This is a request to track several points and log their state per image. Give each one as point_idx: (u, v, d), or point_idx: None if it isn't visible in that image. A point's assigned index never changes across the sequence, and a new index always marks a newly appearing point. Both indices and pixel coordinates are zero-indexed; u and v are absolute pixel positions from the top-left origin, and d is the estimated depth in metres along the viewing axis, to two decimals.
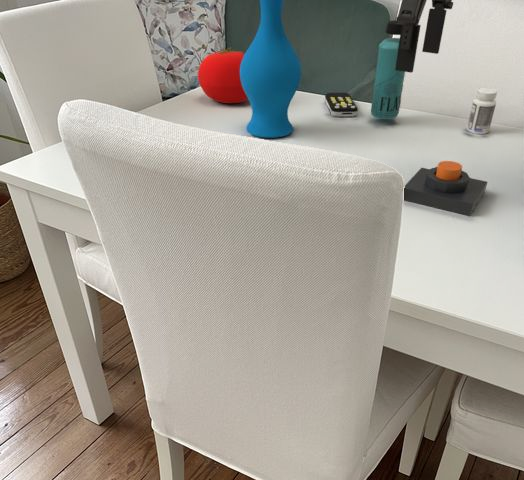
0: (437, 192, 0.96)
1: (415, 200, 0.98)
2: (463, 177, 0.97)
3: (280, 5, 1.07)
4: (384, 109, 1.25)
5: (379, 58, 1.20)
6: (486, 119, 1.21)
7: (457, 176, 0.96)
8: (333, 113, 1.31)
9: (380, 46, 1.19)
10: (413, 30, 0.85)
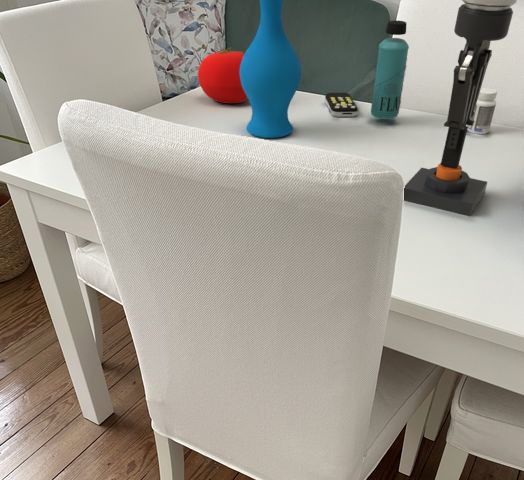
0: (437, 192, 0.96)
1: (415, 200, 0.98)
2: (463, 177, 0.97)
3: (280, 5, 1.07)
4: (384, 109, 1.25)
5: (379, 58, 1.20)
6: (486, 119, 1.21)
7: (457, 177, 0.96)
8: (333, 113, 1.31)
9: (380, 46, 1.19)
10: (459, 133, 0.92)
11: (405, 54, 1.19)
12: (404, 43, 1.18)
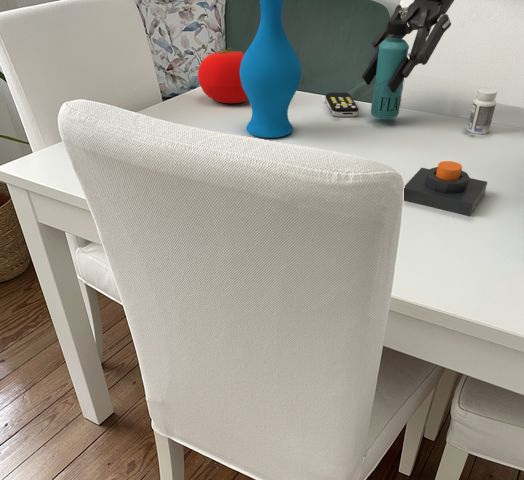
0: (437, 192, 0.96)
1: (415, 200, 0.98)
2: (463, 177, 0.97)
3: (280, 5, 1.07)
4: (384, 109, 1.25)
5: (379, 58, 1.20)
6: (486, 119, 1.21)
7: (457, 176, 0.96)
8: (334, 113, 1.31)
9: (380, 46, 1.19)
10: (376, 53, 1.23)
11: (405, 54, 1.18)
12: (404, 43, 1.18)
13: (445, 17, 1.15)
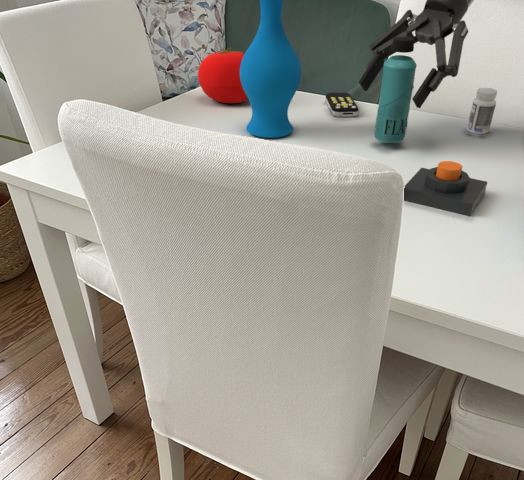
0: (437, 192, 0.96)
1: (415, 200, 0.98)
2: (463, 177, 0.97)
3: (280, 5, 1.07)
4: (389, 132, 1.14)
5: (384, 77, 1.09)
6: (486, 119, 1.21)
7: (457, 176, 0.96)
8: (334, 113, 1.31)
9: (385, 64, 1.08)
10: (374, 57, 1.14)
11: (412, 73, 1.08)
12: (411, 61, 1.07)
13: (462, 23, 1.04)
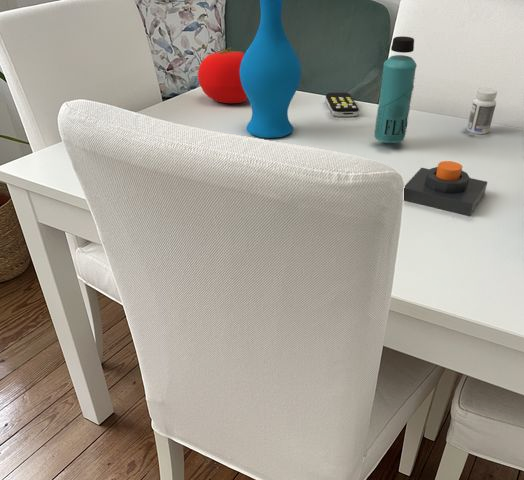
0: (437, 192, 0.96)
1: (415, 200, 0.98)
2: (463, 177, 0.97)
3: (280, 5, 1.07)
4: (389, 132, 1.14)
5: (384, 77, 1.09)
6: (486, 119, 1.21)
7: (457, 176, 0.96)
8: (334, 113, 1.31)
9: (385, 64, 1.08)
10: None
11: (412, 73, 1.08)
12: (411, 61, 1.07)
13: None
